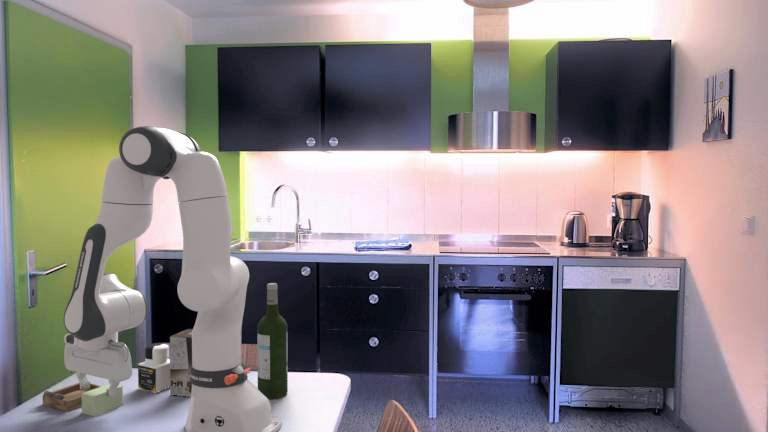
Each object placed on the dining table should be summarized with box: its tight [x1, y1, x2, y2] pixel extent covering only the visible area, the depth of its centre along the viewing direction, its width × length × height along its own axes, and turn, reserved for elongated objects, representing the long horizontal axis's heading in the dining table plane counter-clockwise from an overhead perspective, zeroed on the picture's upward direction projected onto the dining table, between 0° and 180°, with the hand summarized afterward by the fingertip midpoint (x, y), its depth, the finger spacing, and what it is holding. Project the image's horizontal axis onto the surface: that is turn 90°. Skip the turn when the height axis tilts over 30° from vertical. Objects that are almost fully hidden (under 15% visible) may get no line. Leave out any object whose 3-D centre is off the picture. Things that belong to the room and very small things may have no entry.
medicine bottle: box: [137, 342, 170, 393], centre depth 152 cm, size 7×7×12 cm
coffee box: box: [169, 328, 193, 398], centre depth 149 cm, size 9×6×16 cm
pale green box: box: [81, 383, 124, 417], centre depth 137 cm, size 4×8×5 cm, turn 154°
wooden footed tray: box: [42, 382, 102, 412], centre depth 142 cm, size 10×12×4 cm
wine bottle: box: [256, 282, 289, 400], centre depth 147 cm, size 8×8×30 cm
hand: (97, 392), depth 136 cm, fingers open, 8 cm apart
